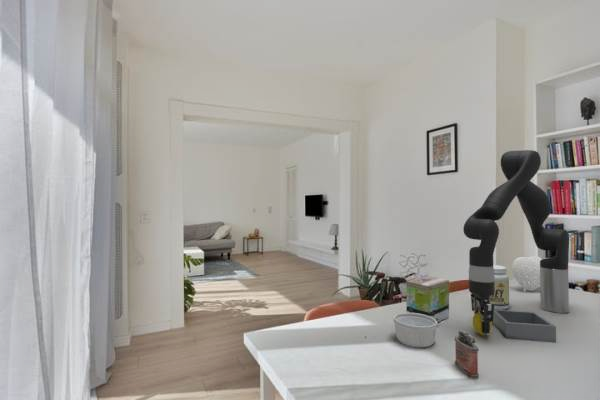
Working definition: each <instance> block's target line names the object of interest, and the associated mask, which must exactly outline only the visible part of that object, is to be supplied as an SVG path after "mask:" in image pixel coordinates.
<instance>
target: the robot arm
mask: <svg viewBox="0 0 600 400" xmlns="http://www.w3.org/2000/svg"><path fill="white" fill-rule="evenodd" d="M541 163H542V159H541V155H540V153H539V152H538V151H536V150H530V149H529V150H527V149H525V150H524V149H523V150H508V151H506V152H504V153H502V156H501V157H500V168H501V171H502V173H503V175H504V176H505V178H506V180H507V181H505V182H503V183H502V184H501V185H499V186H497V187H496V188H494V190H492V191H491V192H490V193H489V194H488V195H487V197H486V199H485V200H484V202H483V203H482V205H481V207H479V208H478V209H476V211H475V212H473V214H471V215H470V216H469V217H468V218H467V219H466V221H465V222H464V223H463V224H464V225H463V235H464V236H465V237H466V238H468V239H470V240H478V241H480V243H479V245H478V246H473V247H470V249H469V251H468V252H469V260H468V262H469V264H468V265H469V267H468V291H469V292H470V301H471V311H472V312H473V315H475V314H476V313H478V312H479V314H480V315H481V320H482V332H483V333H484V335H489V334H491V330H490V322H491V323H492V322H493V316H494V305H493V304H491V303H490V300H489V296H490V295H494V293H495V281H494V268H493V265H494V252H495V250H496V249H495V248H496V245H497V242H498V239H499V235H500V229H499V226H498V225H499V224H498V223H497V221H499V220H500V219H502V218H503V216H504V215H505V213H506V211H507V210H508V208H509V207H510V205H511V204H512V202H513V200H514V199H515V198H517V199H518V203H519V205H520V207H521V209H522V212H523V214H524V216H525V217H526V221H527V223H528V224H529V228H530V231H531V234H532V238H533V242H534V243H535V245H536V248H538V249H539V250H542V251H546V252H547V251H548V252H556V253H555V255H554V256H551V257H548V258H542V260H540V268H539V269H540V274H539V275H540V285H539V287H540V289H539V290H540V293H539V294H540V295H539V296H540V308H541V310H544V311H546V312H552V313H559V314H567V313H569V312H570V305H569V304H570V294H569V293H570V292H569V291H570V288H569V285H570V284H569V258H570V257H569V254H570V252H569V250H570V234H569V232H568V231H567V230H566V229H562V228H549V227H548V228H546V227H544V226H543V225H544V223H545V222H546V220H547V219H548V218H549V216H550V215H551V213H552V205H551V201H550V198H549V196H548V195H547V193H546V192H545V191H544V190H543V189H542V188H541V187H539V186H538V185H537V184H535V183H534V182H533V181H531V180H532V179H533V178H534V176H536V174H537V173H538V172H539V170H540V168H541ZM487 317H488V318H487Z"/></svg>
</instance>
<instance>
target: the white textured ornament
mask: <svg viewBox="0 0 600 400" xmlns="http://www.w3.org/2000/svg"><path fill="white" fill-rule="evenodd" d="M542 259H543V258H542V257H540V256H537V255H532V256H528V257H525V256H520V257H519V256H518V257H517V258H516V259H515V260H513V263H512V266H511V269H512V274H513V277H514V278H515V280H516V282H518V284H519V285H520V286H521V287H523V293H526V292H528V291H529V292H532V291H537V288H539V287H540V260H542Z"/></svg>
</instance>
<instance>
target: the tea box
mask: <svg viewBox="0 0 600 400" xmlns="http://www.w3.org/2000/svg"><path fill="white" fill-rule="evenodd" d="M405 313H418V314H423V315H427V316H430V317H432V318H434V319H435V320H436V321H437V323H439V322H441V321H444V320H446V319H448V318H450V279H445V278H444V279H443V278H439V277H434V276H433V277H432V276H422V277H418V278H415V279H412V280H408V281H406V311H405Z"/></svg>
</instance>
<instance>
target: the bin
mask: <svg viewBox="0 0 600 400" xmlns="http://www.w3.org/2000/svg"><path fill="white" fill-rule="evenodd" d="M491 323H492V326H494V327H495V328H496V329H497V330H498V332H500V334H502V335H503V337H504V338H505V339H509V340H510V339H511V340H522V341H533V342H545V343H546V342H547V343H557V326H556V325H555V324H554V323H552V322H550V321H549V320H547V319H546V318H544V317H543V316H541V315H540V314H538V313H537V312H536V311H524V310H522V311H521V310H510V309H509V310H508V309H504V310H494V316H493V322H491Z"/></svg>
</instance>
